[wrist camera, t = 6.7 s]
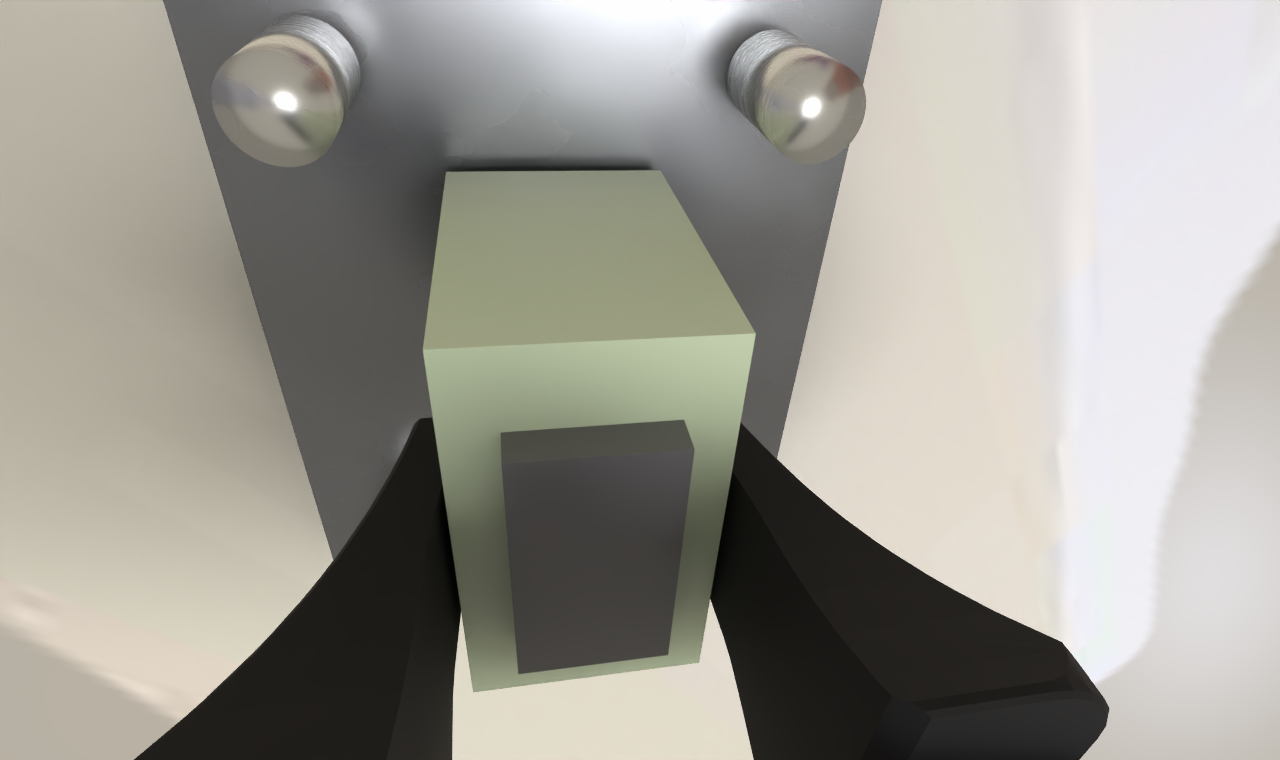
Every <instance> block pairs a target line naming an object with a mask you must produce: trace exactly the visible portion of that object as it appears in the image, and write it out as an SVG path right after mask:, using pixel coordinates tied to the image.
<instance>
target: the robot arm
mask: <svg viewBox="0 0 1280 760" xmlns="http://www.w3.org/2000/svg"><path fill="white" fill-rule="evenodd" d="M710 599H711V602H712V605H713V608H714V611H715V613H716V616H717V619H718V622H719V625H720V628H721V630H722V633H723V636H724V640H725V643H726V646H727V649H728V653H729V656H730V659H731V663H732V668H733V672H734V676H735V680H736V684H737V688H738V692H739V697H740V701H741V705H742V709H743V713H744V718H745V722H746V727H747V731H748V736H749V740H750V745H751V749H752V754H753V758H754V760H1079V759H1080V758H1081V757H1082V756H1083V755H1084V754H1085V753H1086V751H1087V750H1088V749H1089V748H1090V747H1091V745H1092V744H1093V743H1094V742H1095V741H1096V740H1097V739H1098V737H1099V736H1100V734H1101V733H1102V731H1103V730H1104V728H1105V727H1106V723H1107V718H1108V713H1109V707H1108V705H1107V703H1106V701H1105V699H1104V698H1103V696H1102V695H1101V693H1100V692H1099V691H1098V689H1097V688H1096V687H1095V685H1094V684H1093V682H1092V681H1091V680H1090V678H1089V677H1088V675H1087V674H1086V673H1085V671H1084V670H1083V669H1082V667H1081V666H1080V665H1079V663H1078V662H1077V661H1076V659H1075V658H1074V657H1073V655H1072V654H1071V653H1070V652H1069V650H1068V649H1067V648H1066V647H1065V646H1064V644H1063V643H1062V642H1060V641H1058V640H1056V639H1054V638H1052V637H1049V636H1047V635H1045V634H1043V633H1041V632H1038V631H1036V630H1034V629H1032V628H1030V627H1028V626H1025V625H1023V624H1021V623H1019V622H1017V621H1014V620H1012V619H1010V618H1008V617H1006V616H1004V615H1001V614H999V613H997V612H995V611H993V610H991V609H989V608H987V607H985V606H983V605H982V604H980V603H978V602H976V601H974V600H972V599H970V598H968V597H966V596H965V595H963V594H961V593H959V592H957V591H955V590H953V589H951V588H950V587H948V586H946V585H944V584H943V583H941V582H939V581H937V580H936V579H934V578H932V577H930V576H929V575H927V574H925V573H924V572H922V571H921V570H919V569H917V568H916V567H914V566H913V565H911V564H909V563H908V562H906V561H905V560H903V559H901V558H900V557H898V556H897V555H895V554H894V553H892V552H891V551H889V550H888V549H886V548H885V547H883V546H882V545H880V544H879V543H877V542H876V541H874V540H873V539H872V538H870V537H869V536H868V535H866V534H865V533H863V532H862V531H861V530H859V529H858V528H857V527H855V526H854V525H853V524H851V523H850V522H848V521H847V520H846V519H844V518H843V517H842V516H841V515H839V514H838V513H837V512H836V511H834V510H833V509H832V508H831V507H829V506H828V505H827V504H826V503H825V502H823V501H822V500H821V499H820V498H819V497H818V496H816V495H815V494H814V493H813V492H812V491H811V490H809V489H808V488H807V487H806V486H805V485H804V484H803V483H802V482H801V481H799V480H798V479H797V478H796V477H795V476H794V475H793V474H792V473H791V472H790V471H789V470H788V469H787V468H786V467H785V466H784V465H783V464H782V463H781V462H779V461H778V460H777V459H776V458H775V457H774V456H773V455H772V454H771V453H770V452H769V451H768V450H767V449H766V448H765V447H764V446H763V445H762V444H761V443H760V442H759V441H758V440H757V438H756V437H755V436H754V435H753V434H752V433H751V432H750V431H749V430H748V429H747V428H746V427H745V426H744V425H743V424H742V423H741V422H740V428H739V434H738V439H737V445H736V451H735V457H734V463H733V468H732V474H731V480H730V486H729V492H728V497H727V503H726V509H725V515H724V520H723V526H722V532H721V538H720V544H719V549H718V555H717V561H716V567H715V572H714V578H713V584H712V590H711V596H710ZM460 616H461V606H460V599H459V592H458V585H457V579H456V572H455V565H454V558H453V552H452V545H451V538H450V531H449V524H448V518H447V511H446V504H445V497H444V490H443V484H442V477H441V470H440V463H439V457H438V450H437V443H436V436H435V429H434V423H433V417H431V418H420V419H419V420H418V421H417V422H416V423H415V424H414V425H413V428H412V430H411V433H410V435H409V437H408V439H407V442H406V444H405V446H404V448H403V450H402V452H401V454H400V456H399V458H398V460H397V462H396V464H395V465H394V467H393V469H392V471H391V473H390V475H389V476H388V478H387V480H386V482H385V483H384V485H383V487H382V488H381V490H380V492H379V493H378V495H377V497H376V498H375V500H374V502H373V503H372V505H371V507H370V508H369V510H368V511H367V513H366V515H365V516H364V518H363V519H362V520H361V522H360V523H359V525H358V526H357V528H356V529H355V531H354V532H353V534H352V535H351V537H350V538H349V540H348V541H347V542H346V544H345V545H344V547H343V548H342V550H341V551H340V552H339V554H338V555H337V556H336V558H335V559H334V560H333V562H332V563H331V564H330V566H329V567H328V568H327V570H326V571H325V572H324V574H323V575H322V576H321V577H320V579H319V580H318V581H317V582H316V583H315V585H314V586H313V587H312V588H311V590H310V591H309V592H308V593H307V594H306V596H305V597H304V598H303V599H302V600H301V602H300V603H299V604H298V605H297V606H296V607H295V608H294V609H293V610H292V612H291V613H290V614H289V615H288V616H287V617H286V618H285V619H284V621H283V622H282V623H281V624H280V625H279V626H278V627H277V628H276V629H275V631H274V632H273V633H272V634H271V635H270V636H269V637H268V638H267V639H266V640H265V641H264V642H263V643H262V644H261V645H260V646H259V647H258V648H257V649H256V651H255V652H254V653H253V654H252V655H251V656H250V657H248V658H247V659H246V660H245V661H244V662H243V663H242V664H241V665H240V666H239V667H238V668H237V669H236V670H235V671H234V672H233V673H232V674H231V675H230V676H229V677H228V678H227V679H225V680H224V681H223V682H222V683H221V684H220V685H219V686H218V687H217V688H216V689H215V690H214V691H213V692H212V693H211V694H210V695H209V696H208V697H207V698H206V699H205V700H203V701H202V702H201V703H200V704H199V705H198V706H197V707H196V708H195V709H193V710H192V711H191V712H190V713H189V714H188V715H187V716H186V717H184V718H183V719H182V720H181V721H180V722H178V723H177V724H176V725H175V726H174V727H172V728H171V729H170V730H169V731H168V732H166V733H165V734H164V735H163V736H162V737H161V738H159V739H158V740H157V741H156V742H155V743H153V744H152V745H151V746H150V747H149V748H147V749H146V750H145V751H144V752H143V753H141V754H140V755H139V756H138V757H137V758H136V759H134V760H452V720H453V685H454V671H455V661H456V652H457V643H458V634H459V625H460Z"/></svg>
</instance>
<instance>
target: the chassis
mask: <svg viewBox="0 0 1280 760" xmlns="http://www.w3.org/2000/svg"><path fill="white" fill-rule="evenodd" d="M163 1H164V5H165V8H166V11H167V15H168V18H169V21H170V24H171V28H172V31H173V34H174V38H175V41H176V44H177V47H178V51H179V54H180V57H181V61H182V64H183V67H184V70H185V74H186V77H187V80H188V84H189V87H190V90H191V93H192V97H193V100H194V103H195V107H196V110H197V113H198V116H199V120H200V123H201V126H202V130H203V133H204V136H205V139H206V143H207V146H208V149H209V153H210V156H211V159H212V162H213V166H214V169H215V172H216V176H217V179H218V182H219V185H220V189H221V192H222V195H223V199H224V202H225V205H226V208H227V212H228V215H229V218H230V222H231V225H232V228H233V231H234V235H235V238H236V241H237V245H238V248H239V251H240V254H241V258H242V261H243V264H244V268H245V271H246V274H247V277H248V281H249V284H250V287H251V291H252V294H253V297H254V300H255V304H256V307H257V310H258V314H259V317H260V320H261V323H262V327H263V330H264V333H265V337H266V340H267V343H268V346H269V350H270V353H271V356H272V360H273V363H274V366H275V369H276V373H277V376H278V379H279V383H280V386H281V389H282V392H283V396H284V399H285V402H286V406H287V409H288V412H289V415H290V419H291V422H292V425H293V429H294V432H295V435H296V438H297V442H298V445H299V448H300V452H301V455H302V458H303V461H304V465H305V468H306V471H307V475H308V478H309V481H310V484H311V488H312V491H313V494H314V498H315V501H316V504H317V507H318V511H319V514H320V517H321V521H322V524H323V527H324V530H325V534H326V537H327V540H328V544H329V547H330V550H331V553H332V557H333V560H334V559H335V558H336V556H337V555H338V554H339V552H340V551H341V550H342V548H343V547H344V545H345V544H346V542H347V541H348V540H349V538H350V537H351V535H352V534H353V532H354V531H355V529H356V528H357V526H358V525H359V523H360V522H361V520H362V519H363V518H364V516H365V515H366V513H367V511H368V510H369V508H370V507H371V505H372V503H373V502H374V500H375V498H376V497H377V495H378V493H379V492H380V490H381V488H382V487H383V485H384V483H385V482H386V480H387V478H388V476H389V475H390V473H391V471H392V469H393V467H394V465H395V464H396V462H397V460H398V458H399V456H400V454H401V452H402V450H403V448H404V446H405V444H406V442H407V439H408V437H409V435H410V433H411V430H412V428H413V425H414V424H415V423H416V422H417V421H418V420H419V419H420V418H431V417H433V416H432V409H431V402H430V396H429V389H428V382H427V375H426V368H425V362H424V355H423V344H424V336H425V329H426V321H427V313H428V306H429V298H430V291H431V283H432V275H433V268H434V260H435V252H436V245H437V237H438V229H439V222H440V214H441V207H442V199H443V191H444V184H445V176H446V172H485V171H630V170H661V172H662V174H663V175H664V177H665V179H666V181H667V182H668V184H669V186H670V187H671V189H672V191H673V193H674V194H675V196H676V198H677V199H678V201H679V203H680V205H681V206H682V208H683V210H684V211H685V213H686V215H687V217H688V218H689V220H690V222H691V223H692V225H693V227H694V229H695V230H696V232H697V234H698V235H699V237H700V239H701V240H702V242H703V244H704V246H705V247H706V249H707V251H708V252H709V254H710V256H711V258H712V259H713V261H714V263H715V264H716V266H717V268H718V270H719V271H720V273H721V275H722V276H723V278H724V280H725V282H726V283H727V285H728V287H729V288H730V290H731V292H732V294H733V295H734V297H735V299H736V300H737V302H738V304H739V305H740V307H741V309H742V311H743V312H744V314H745V316H746V317H747V319H748V321H749V323H750V324H751V326H752V328H753V329H754V331H755V333H756V335H755V341H754V347H753V353H752V359H751V364H750V370H749V376H748V382H747V387H746V393H745V399H744V405H743V411H742V416H741V423H742V424H743V425H744V426H745V427H746V428H747V429H748V430H749V431H750V432H751V433H752V434H753V435H754V436H755V437H756V438H757V440H758V441H759V442H760V443H761V444H762V445H763V446H764V447H765V448H766V449H767V450H768V451H769V452H770V453H771V454H772V455H773V456H774V457H775V458H776V459H777V456H778V451H779V447H780V443H781V438H782V434H783V430H784V425H785V421H786V417H787V412H788V408H789V403H790V399H791V395H792V390H793V386H794V382H795V377H796V373H797V369H798V364H799V360H800V356H801V351H802V347H803V343H804V338H805V334H806V330H807V325H808V321H809V317H810V312H811V308H812V304H813V299H814V295H815V290H816V286H817V282H818V277H819V273H820V269H821V264H822V260H823V256H824V251H825V247H826V243H827V238H828V234H829V230H830V225H831V221H832V217H833V212H834V208H835V204H836V199H837V195H838V191H839V186H840V182H841V177H842V173H843V169H844V164H845V160H846V156H847V151H848V147H849V144H850V142H851V141H852V140H853V139H854V137H855V136H856V134H857V132H858V130H859V129H860V126H861V124H862V121H863V118H864V114H865V109H866V96H865V91H864V87H863V82H864V78H865V73H866V69H867V64H868V60H869V56H870V51H871V47H872V43H873V38H874V34H875V30H876V25H877V21H878V17H879V12H880V8H881V4H882V0H163Z"/></svg>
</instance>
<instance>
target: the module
mask: <svg viewBox="0 0 1280 760" xmlns="http://www.w3.org/2000/svg"><path fill="white" fill-rule="evenodd" d="M755 335H756V333H755V331H754V329H753V328H752V326H751V324H750V323H749V321H748V319H747V317H746V316H745V314H744V312H743V311H742V309H741V307H740V305H739V304H738V302H737V300H736V299H735V297H734V295H733V294H732V292H731V290H730V288H729V287H728V285H727V283H726V282H725V280H724V278H723V276H722V275H721V273H720V271H719V270H718V268H717V266H716V264H715V263H714V261H713V259H712V258H711V256H710V254H709V252H708V251H707V249H706V247H705V246H704V244H703V242H702V240H701V239H700V237H699V235H698V234H697V232H696V230H695V229H694V227H693V225H692V223H691V222H690V220H689V218H688V217H687V215H686V213H685V211H684V210H683V208H682V206H681V205H680V203H679V201H678V199H677V198H676V196H675V194H674V193H673V191H672V189H671V187H670V186H669V184H668V182H667V181H666V179H665V177H664V175H663V174H662V172H661V170H630V171H485V172H446V176H445V184H444V191H443V199H442V207H441V214H440V222H439V229H438V237H437V245H436V252H435V260H434V268H433V275H432V283H431V291H430V298H429V306H428V313H427V321H426V329H425V336H424V344H423V355H424V362H425V368H426V375H427V382H428V389H429V396H430V402H431V409H432V416H433V423H434V429H435V436H436V443H437V450H438V457H439V463H440V470H441V477H442V484H443V490H444V497H445V504H446V511H447V518H448V524H449V531H450V538H451V545H452V552H453V558H454V565H455V572H456V579H457V585H458V592H459V599H460V606H461V613H462V619H463V626H464V633H465V640H466V646H467V653H468V660H469V667H470V674H471V680H472V687H473V692H479V691H487V690H494V689H502V688H510V687H517V686H525V685H532V684H540V683H548V682H555V681H563V680H570V679H578V678H586V677H593V676H601V675H608V674H616V673H624V672H631V671H639V670H646V669H654V668H662V667H669V666H677V665H684V664H692V663H699V659H700V653H701V648H702V642H703V636H704V630H705V624H706V619H707V613H708V607H709V601H710V596H711V590H712V584H713V578H714V572H715V567H716V561H717V555H718V549H719V544H720V538H721V532H722V526H723V520H724V515H725V509H726V503H727V497H728V492H729V486H730V480H731V474H732V468H733V463H734V457H735V451H736V445H737V439H738V434H739V428H740V422H741V416H742V411H743V405H744V399H745V393H746V387H747V382H748V376H749V370H750V364H751V359H752V353H753V347H754V341H755Z"/></svg>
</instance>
